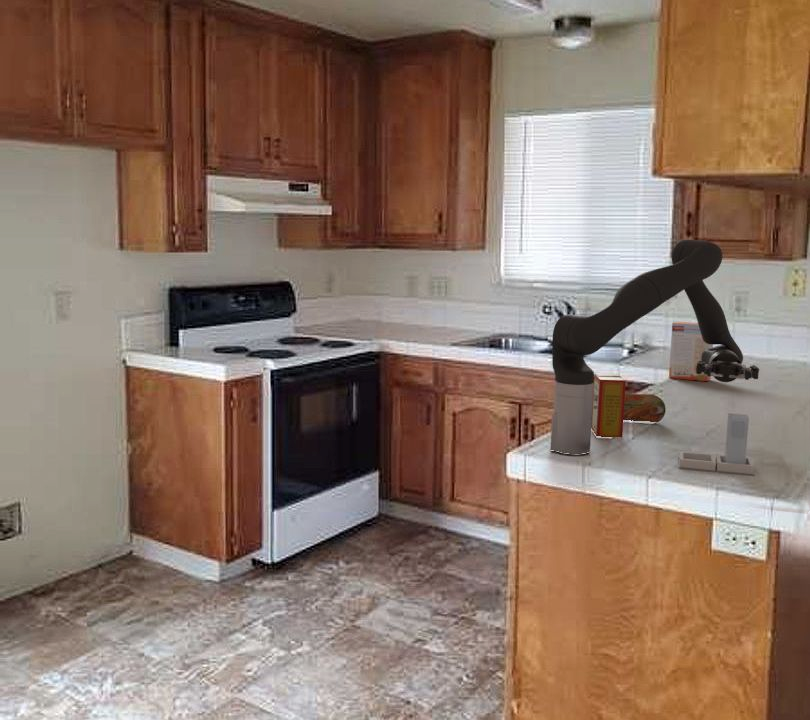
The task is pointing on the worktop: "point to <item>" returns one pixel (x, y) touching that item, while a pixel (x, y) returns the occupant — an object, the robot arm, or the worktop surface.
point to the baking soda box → (608, 405)
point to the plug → (736, 438)
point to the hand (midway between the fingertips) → (728, 373)
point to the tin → (643, 407)
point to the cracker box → (686, 351)
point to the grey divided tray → (713, 464)
